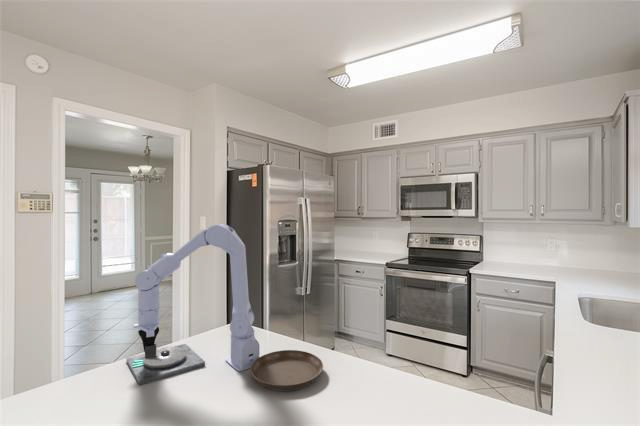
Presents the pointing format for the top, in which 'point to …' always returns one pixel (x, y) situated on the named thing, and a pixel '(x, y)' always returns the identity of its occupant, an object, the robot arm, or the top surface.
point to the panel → (153, 374)
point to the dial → (163, 356)
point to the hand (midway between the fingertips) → (148, 352)
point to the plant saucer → (286, 369)
